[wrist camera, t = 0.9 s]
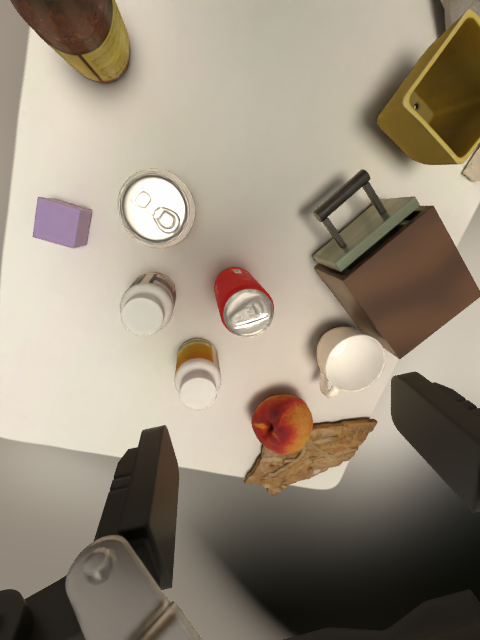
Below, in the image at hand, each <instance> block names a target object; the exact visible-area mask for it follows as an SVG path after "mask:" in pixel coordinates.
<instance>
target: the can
mask: <svg viewBox="0 0 480 640" xmlns="http://www.w3.org/2000/svg"><path fill="white" fill-rule="evenodd" d="M118 214H119V218H120V220H121V223H122V225H123V227H124V228H125V230H126V231H127V232H128V234H129V235H130V236H131V237H132V238H134V239H135V240H136V241H138V242H139V243H141V244H143V245H146V246H149V247H154V248H165V247H169V246H172V245H175V244H177V243H178V242H180V241H181V240H182V239H184V238H185V237H186V235H187V234H188V233H189V231H190V229H191V227H192V225H193V222H194V218H195V205H194V201H193V198H192V195H191V193H190V191H189V189H188V188H187V186H186V185H185V184H184V183H183V182H182V181H181V180H180V179H179V178H178V177H177V176H175V175H174V174H172V173H170V172H167V171H165V170H161V169H145V170H141V171H139V172H136V173H135V174H133V175H132V176H130V177H129V178H128V179H127V180H126V181H125V183H124V184H123V186H122V188H121V190H120V192H119V196H118Z"/></svg>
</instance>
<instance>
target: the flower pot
mask: <svg viewBox="0 0 480 640" xmlns="http://www.w3.org/2000/svg"><path fill="white" fill-rule="evenodd" d="M415 104H417V105H418V108H417V109H414V105H415ZM377 124H378V126H379V128H380V129H382V130H383V131H384V132H385V133H386V134H387V135H388V136H389V137H390V138H391V139H392V140H393V141H394V142H395V143H396V144H397V145H398V146H399V148H400V149H401V150H402V151H403V152H404V153H406V154H407V155H408V156H409V157H410V158H412V159H413V160H415V161H417V162H419V163H422V164H428V165H447V164H462V163H463V162H464V161H465V160H466V159H467V158H468V157H469V156H470V154H471V153H472V152H473V151H474V149H475V148H476V147H477V145H478V144H479V143H480V18H479V16H478V15H477V14H476V13H475V12H474V11H472V10H471V9H468V10H467V11H466V12H465V13H464V14H463V15H462V16H461V17H460V18H458V19H457V20H456V21H455V22H454V23H453V24H452V25H451V26H450V27H449V28H448V29H447V30H446V31H445V32H444V33H443V34H442V35H441V36H440V37H439V38H438V39H437V40H436V41H435V42H434V43H433V44H432V45H431V46H430V47H429V48H428V49H427V50H426V51H425V53H424V54H423V55H422V56H421V58H420V59H419V61H418V62H417V63H416V65H415V66H414V68H413V69H412V70H411V72H410V73H409V75H408V76H407V77H406V79H405V80H404V82H403V83H402V84H401V86H400V87H399V89H398V90H397V91H396V93H395V94H394V96H393V97H392V98H391V100H390V101H389V102H388V104H387V105H386V106H385V108H384V109H383V110H382V112H381V113H380V115H379V116H378V119H377Z"/></svg>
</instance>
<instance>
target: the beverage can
mask: <svg viewBox="0 0 480 640" xmlns="http://www.w3.org/2000/svg"><path fill="white" fill-rule="evenodd" d="M214 292H215V296H216V300H217V304H218V308H219V312H220V316H221V320H222V322H223V324H224V326H225V327H226V328H227V329H228V330H229V331H230V332H232V333H234V334H236V335H238V336H241V337H254V336H257V335H259V334H261V333H262V332H264V331H265V330H266V329H267V328H268V327H269V325H270V323H271V321H272V318H273V313H274V305H273V301H272V299H271V297H270V295H269V294H268V293H267V292H266V291H265V289H264V288H263V287H262V286H261V285H260V284H259V283H258V282H257V281H256V280H255V279H254V278H253V277H252V275H251V274H250V273H249V272H247V271H246V270H244V269H241V268H229V269H226V270H224V271H223V272H222V273H221V274H220V275H219V276H218V277H217V279H216V281H215V285H214Z"/></svg>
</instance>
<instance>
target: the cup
mask: <svg viewBox="0 0 480 640" xmlns="http://www.w3.org/2000/svg"><path fill="white" fill-rule="evenodd" d="M317 361H318V365H319V367H320V369H321V372H320V390H321V392H322V393H323V394H324V395H325V396H327V397H330V398H333V397H335V396H336V395H337V394H338V392H339V391H340V390H341V391H344V392H355V391H359V390H362V389H365V388H367V387H368V386H370V385H371V384H372V383H374V382H375V381H376V380H377V378H378V377H379V376H380V374H381V373H382V371H383V368H384V365H385V352H384V349H383V347H382V345H381V344H380V342H379V341H377V340H376V339H375V338H373V337H372V336H371V335H369V334H367V333H366V332H364V331H362V330H359V329H356V328H352V327H337V328H333V329H331V330H329V331H327V332H326V333H325V334H324V335H323V336H322V337H321V339H320V340H319V342H318V345H317ZM328 381H329V382H330V384H331V385H332V387H331V389H330V390H329V389H328Z"/></svg>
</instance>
